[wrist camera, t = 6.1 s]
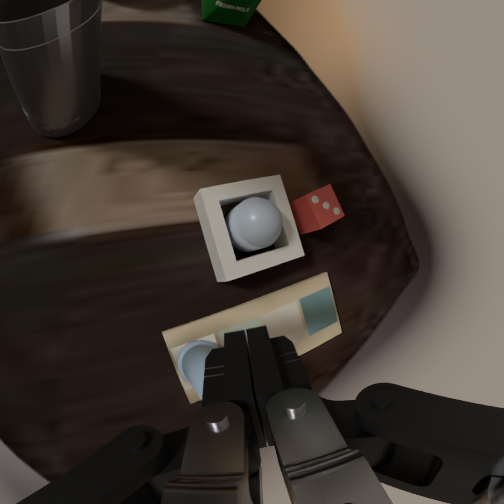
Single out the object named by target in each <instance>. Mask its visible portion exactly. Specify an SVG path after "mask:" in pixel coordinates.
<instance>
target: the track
mask: <svg viewBox="0 0 504 504" xmlns="http://www.w3.org/2000/svg"><path fill="white" fill-rule="evenodd" d="M264 325H266V327H267V330H268V334H269V337H270V338H274V337H278V336H283V335H284V336H285V337H287V338H288V339H289V340H291V341H292V342H293V344H294V346H295V349H296V352H297V354H298V356H300V355H302V354H304V353H306V352H308V351H310V350H311V349H313V348H315V347H317V346H319V345H321V344H323V343H324V342H326V341H328V340H330V339H332V338H333V337H335V336H337V335H339V334H340V333H342V331H341V326H340V322H339V318H338V314H337V309H336V305H335V301H334V297H333V293H332V289H331V285H330V281H329V278H328V274H327V272H324V273H321V274H318V275H316V276H313V277H311V278H308V279H306V280H303V281H301V282H298V283H296V284H293V285H291V286H288V287H285V288H283V289H280V290H278V291H275V292H272V293H270V294H267V295H265V296H262V297H259V298H257V299H254V300H251V301H248V302H246V303H243V304H240V305H238V306H235V307H232V308H229V309H227V310H224V311H221V312H218V313H215V314H213V315H210V316H207V317H204V318H201V319H198V320H195V321H192V322H189V323H187V324H184V325H181V326H178V327H175V328H172V329H169V330H166V331H163V332H162V334H163V337H164V339H165V342H166V345H167V348H168V350H169V353H170V355H171V358H172V361H173V363H174V366H175V368H176V371H177V373H178V376H179V378H180V381H181V383H182V385H183V388H184V390H185V393H186V395H187V397H188V399H189V402H190V403H194V402H197V401H199V400H201V399H200V397H199V396H198V394H197V393H196V391H195V390H194V388H193V387H192V385H191V384H190V383H189V382H187V381H186V380H185V379H184V378H183V377H182V375H181V374H180V372H179V370H178V366H177V358H178V355H179V352H180V351H181V349H182V348H183V347H184V346H185V345H186V344H188V343H189V342H192V341H195V340H206V341H209V342H211V343H213V344H214V345H215V346H217V347H218V348H221V347H224V333H228V332H233V331H239V330H245V334H246V338H247V333H246V329H249V328H254V327H259V326H264ZM247 343H248V340H247Z"/></svg>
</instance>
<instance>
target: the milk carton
mask: <svg viewBox="0 0 504 504" xmlns="http://www.w3.org/2000/svg"><path fill="white" fill-rule="evenodd" d="M260 2H261V0H201V4H202V21H209V22H216V23H223V24H229V25H235V26H240V27H245V26H246V24H247V22H248V21H249V19H250V17H251V16H252V14H253V13H254V11H255V10H256V8H257V6H258V5H259V3H260Z"/></svg>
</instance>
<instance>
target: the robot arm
mask: <svg viewBox="0 0 504 504" xmlns="http://www.w3.org/2000/svg"><path fill="white" fill-rule="evenodd" d="M101 14H102V0H0V54H1V57H2V60H3V62H4V65H5V68H6V70H7V73H8V76H9V78H10V81H11V83H12V85H13V88H14V90H15V92H16V95H17V97H18V99H19V102H20V104H21V106H22V108H23V110H24V113H25V115H26V117H27V119H28V121H29V123H30V125H31V126H32V128H33V129H34V130H35V131H36V133H38V134H40V135H42V136H45V137H61V136H65V135H68V134H71V133H73V132H75V131H77V130H78V129H80V128H81V127H83V126H84V125H85V124H86V123H88V122H89V120H90V119H91V118H92V117H93V116H94V114H95V113H96V111H97V110H98V107H99V105H100V101H101V81H100V34H101ZM246 333H247V338H246V334H245V330H239V331H233V332H228V333H224V347H221V348H215V349H212V350H211V351H210V353H209V354H208V355H207V357H206V358H205V370H204V380H203V393H202V406H201V408H199V409H198V410H197V411H196V412H195V413H194V414H193V416H192V418H191V421H190V425H189V426H187V427H185V428H183V429H180V430H178V431H174V432H171V433H168V434H165V435H161V433H160V432H159V431H158V430H157V429H156V428H154V427H151V426H146V425H140V426H135V427H131V428H129V429H127V430H125V431H124V432H122V433H121V434H120V435H118V436H117V437H116V438H114V439H113V440H111V441H110V442H109V443H107V444H106V445H105V446H103V447H102V448H100V449H99V450H98V451H96V452H95V453H93V454H92V455H91V456H89V457H88V458H86V459H85V460H83V461H82V462H81V463H79V464H78V465H76V466H75V467H73V468H72V469H70V470H69V471H67V472H66V473H64V474H63V475H61V476H60V477H58V478H57V479H55V480H54V481H52V482H51V483H49V484H47V485H46V486H44V487H43V488H41V489H40V490H38V491H36V492H35V493H33V494H31V495H30V496H28V497H26V498H25V499H23V500H21V501H20V502H18V503H17V504H263V491H262V469H261V465H260V464H261V458H260V451H259V448H263V447H267V446H266V440H265V434H266V438H267V441H268V445H269V446H273V445H274V446H275V449H276V454H277V457H278V462H279V466H280V469H281V472H282V475H283V478H284V482H285V485H286V488H287V491H288V494H289V497H290V500H291V503H292V504H393V503H392V501H391V500H390V498H389V497H388V495H387V493H386V492H385V490H384V488H383V487H382V485H381V483H384V484H387V485H389V486H392V487H395V488H398V489H401V490H404V491H407V492H410V493H413V494H416V495H420V496H423V497H427V498H430V499H434V500H438V501H442V502H446V503H450V504H504V408H499V407H493V406H487V405H482V404H476V403H471V402H466V401H461V400H457V399H452V398H447V397H443V396H439V395H435V394H431V393H426V392H423V391H419V390H415V389H411V388H407V387H403V386H400V385H396V384H391V383H377V384H373V385H370V386H368V387H366V388H364V389H363V390H362V391H361V392H360V393H359V394H358V395H357V397H356V400H345V401H332V400H327V399H324V398H322V397H320V396H319V395H318V394H317V393H315V392H314V391H313V390H312V388H311V386H310V383H309V381H308V378H307V376H306V373H305V371H304V369H303V366H302V364H301V361H300V359H299V356H298V354H297V352H296V349H295V346H294V344H293V342H292V341H291V340H289V339H288V338H287V337H285V336H284V335H283V336H278V337H274V338H270V337H269V334H268V330H267V327H266V325H264V326H259V327H254V328H249V329H246ZM247 340H248V343H247ZM262 422H263V423H262ZM263 426H264V428H263ZM264 430H265V434H264ZM380 482H381V483H380ZM124 499H125V500H124Z"/></svg>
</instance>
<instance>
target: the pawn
mask: <svg viewBox="0 0 504 504" xmlns="http://www.w3.org/2000/svg"><path fill="white" fill-rule="evenodd" d="M215 348H218V347H217V346H215V345H214V344H213V343H211V342H209V341H206V340H195V341H192V342H189V343H188V344H186V345H185V346H184V347H183V348H182V349H181V351H180V352H179V355H178V358H177V366H178V370H179V372H180V374H181V375H182V377H183V378H184V379H185V380H186V381H187V382H189V383H190V384H191V385H192V387H193V388H194V390H195V391H196V393H197V394H198V396H199V397H200V399H201V400H202V393H203V380H204V370H205V358H206V357H207V355H208V354H209V353H210V351H211V350H212V349H215Z"/></svg>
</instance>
